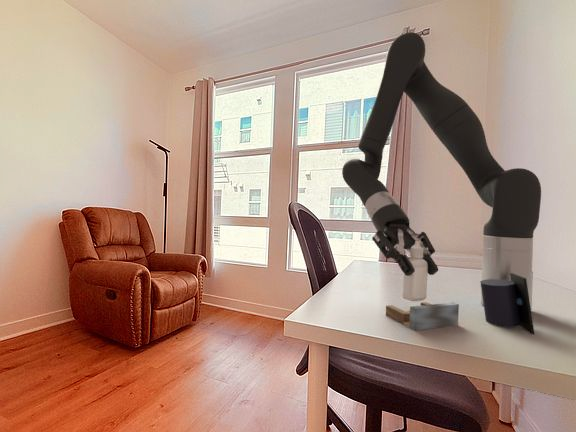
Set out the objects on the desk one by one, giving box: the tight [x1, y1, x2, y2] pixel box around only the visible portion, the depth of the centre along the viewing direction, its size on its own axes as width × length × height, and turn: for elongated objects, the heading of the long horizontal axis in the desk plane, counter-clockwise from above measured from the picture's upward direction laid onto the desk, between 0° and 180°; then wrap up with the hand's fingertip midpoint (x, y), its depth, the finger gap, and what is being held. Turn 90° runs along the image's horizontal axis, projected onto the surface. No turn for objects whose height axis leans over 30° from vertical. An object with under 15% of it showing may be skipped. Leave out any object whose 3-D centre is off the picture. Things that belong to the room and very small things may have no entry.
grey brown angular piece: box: [385, 301, 460, 331], centre depth 53 cm, size 11×8×4 cm
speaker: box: [479, 273, 535, 335], centre depth 53 cm, size 8×6×10 cm
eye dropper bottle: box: [402, 241, 429, 302], centre depth 55 cm, size 4×6×12 cm
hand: (422, 272), depth 53 cm, fingers closed on eye dropper bottle, 5 cm apart
